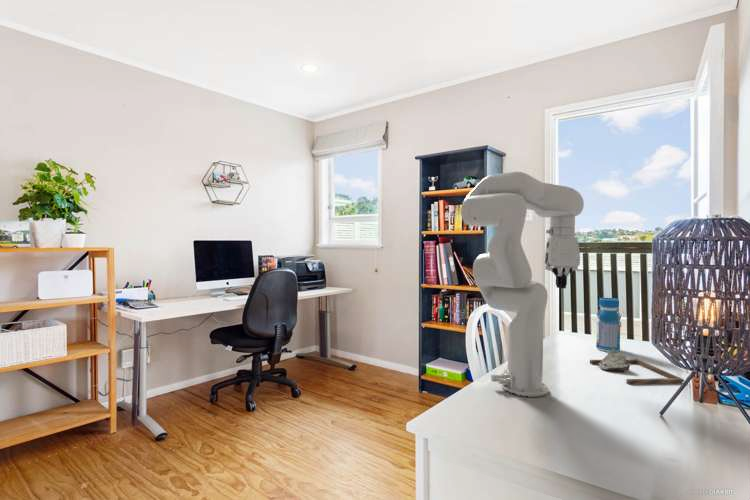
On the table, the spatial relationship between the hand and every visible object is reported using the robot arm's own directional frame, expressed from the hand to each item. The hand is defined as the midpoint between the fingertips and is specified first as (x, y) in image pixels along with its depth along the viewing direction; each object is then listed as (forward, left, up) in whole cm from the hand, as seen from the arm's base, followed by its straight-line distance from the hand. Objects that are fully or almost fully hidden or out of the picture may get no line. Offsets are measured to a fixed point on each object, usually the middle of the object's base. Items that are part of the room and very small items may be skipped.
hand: (561, 287), depth 136 cm
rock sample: (+17, -2, -28) cm, 33 cm away
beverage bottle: (+30, +20, -27) cm, 45 cm away
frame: (+21, -6, -27) cm, 35 cm away
